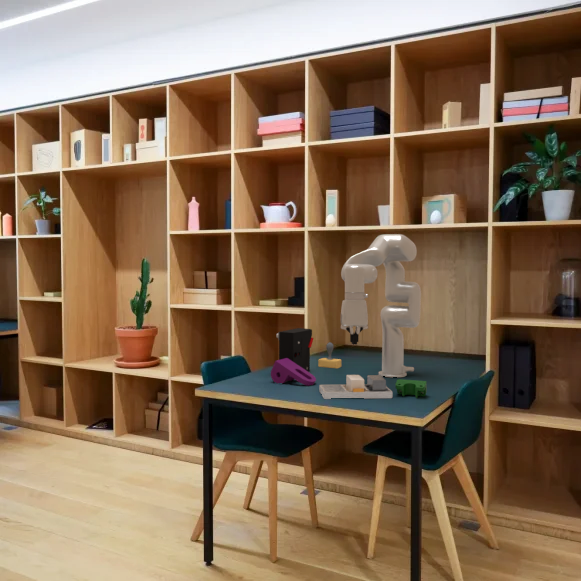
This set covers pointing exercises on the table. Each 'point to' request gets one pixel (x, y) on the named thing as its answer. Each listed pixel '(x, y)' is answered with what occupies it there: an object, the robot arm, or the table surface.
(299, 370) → the mounting bracket
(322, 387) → the grey compartment tray
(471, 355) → the table surface
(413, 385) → the clamp
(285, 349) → the electrical component
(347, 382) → the cream upright block
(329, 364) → the rubber stamp
